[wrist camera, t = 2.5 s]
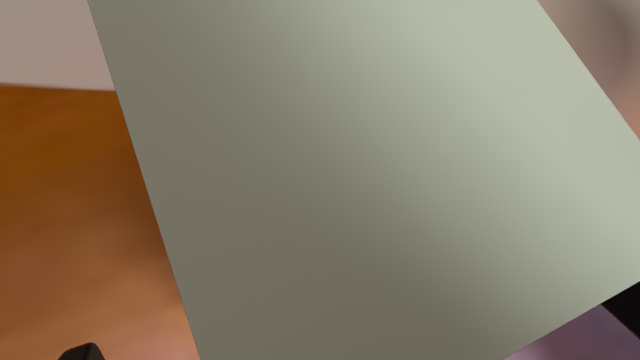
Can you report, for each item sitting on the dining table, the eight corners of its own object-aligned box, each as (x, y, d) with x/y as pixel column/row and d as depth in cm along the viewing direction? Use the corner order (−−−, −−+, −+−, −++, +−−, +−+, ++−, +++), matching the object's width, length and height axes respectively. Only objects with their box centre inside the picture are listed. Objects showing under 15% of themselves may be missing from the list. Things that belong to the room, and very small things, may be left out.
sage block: (372, 311, 16) (712, 239, 4) (254, 367, 15) (245, 506, 3) (322, 200, 17) (467, -93, 5) (211, 243, 16) (79, -26, 4)
